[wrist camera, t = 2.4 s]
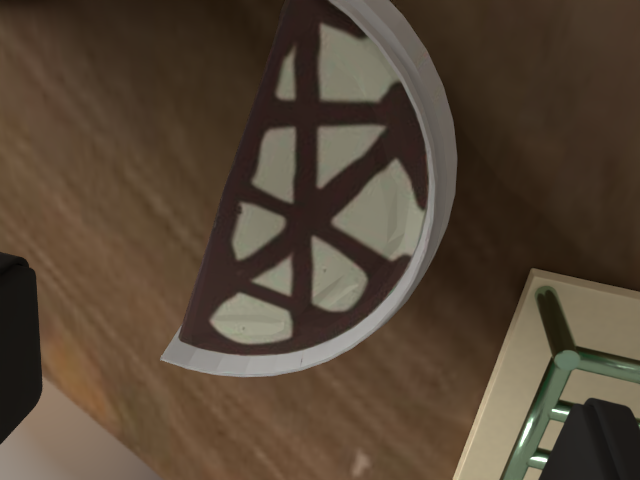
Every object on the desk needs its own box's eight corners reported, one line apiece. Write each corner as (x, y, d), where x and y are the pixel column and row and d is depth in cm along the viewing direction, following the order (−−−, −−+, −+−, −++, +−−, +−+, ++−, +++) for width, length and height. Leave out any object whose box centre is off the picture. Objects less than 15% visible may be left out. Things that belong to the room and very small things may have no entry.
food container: (374, 286, 27) (345, 451, 18) (248, 233, 27) (155, 372, 18) (510, 15, 21) (565, 57, 12) (350, -53, 21) (289, -60, 12)
